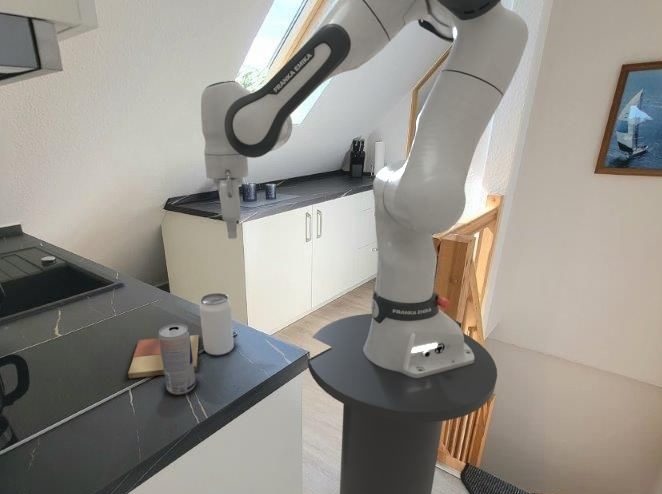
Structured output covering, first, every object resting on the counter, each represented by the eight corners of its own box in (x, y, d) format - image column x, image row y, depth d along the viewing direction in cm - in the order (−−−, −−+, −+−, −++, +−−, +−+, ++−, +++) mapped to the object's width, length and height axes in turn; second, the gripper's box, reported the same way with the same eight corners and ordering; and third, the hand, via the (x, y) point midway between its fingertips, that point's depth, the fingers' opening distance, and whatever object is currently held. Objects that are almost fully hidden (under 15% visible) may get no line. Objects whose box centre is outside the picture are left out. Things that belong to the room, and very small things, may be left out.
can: (198, 348, 89) (192, 298, 84) (223, 338, 93) (218, 289, 88) (214, 359, 84) (209, 307, 80) (239, 348, 88) (236, 298, 84)
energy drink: (195, 376, 79) (189, 321, 74) (196, 393, 74) (188, 335, 69) (167, 380, 78) (158, 325, 73) (165, 397, 73) (156, 339, 68)
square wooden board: (198, 339, 92) (198, 334, 92) (196, 371, 81) (196, 365, 80) (139, 345, 91) (139, 340, 90) (129, 378, 79) (127, 372, 78)
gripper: (245, 173, 76) (249, 244, 81) (239, 163, 95) (242, 221, 100) (211, 174, 75) (217, 246, 80) (211, 164, 94) (217, 223, 99)
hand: (231, 232), depth 90 cm, fingers open, 8 cm apart
